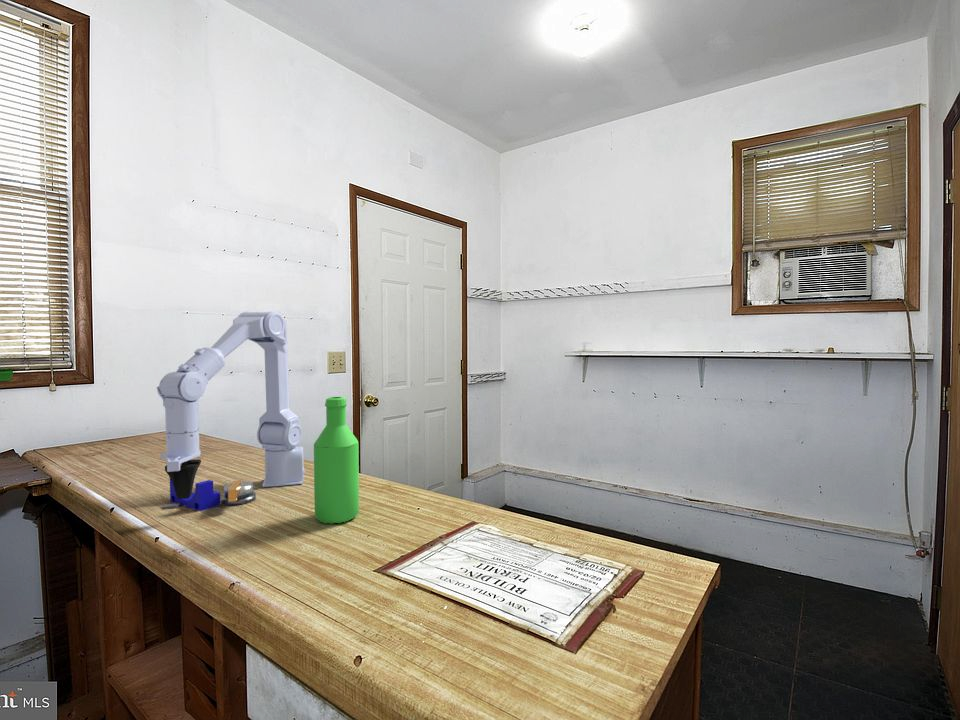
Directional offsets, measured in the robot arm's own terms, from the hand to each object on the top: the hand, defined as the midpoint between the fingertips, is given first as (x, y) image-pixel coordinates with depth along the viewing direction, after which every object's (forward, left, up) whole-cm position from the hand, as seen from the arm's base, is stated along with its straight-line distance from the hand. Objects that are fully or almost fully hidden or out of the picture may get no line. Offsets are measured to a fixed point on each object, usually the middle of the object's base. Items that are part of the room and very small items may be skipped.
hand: (184, 497), depth 98 cm
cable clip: (0, -11, -5) cm, 12 cm away
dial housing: (-9, -10, -5) cm, 14 cm away
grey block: (+5, -10, -5) cm, 12 cm away
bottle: (-30, +8, -5) cm, 31 cm away
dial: (-8, -7, -3) cm, 12 cm away
